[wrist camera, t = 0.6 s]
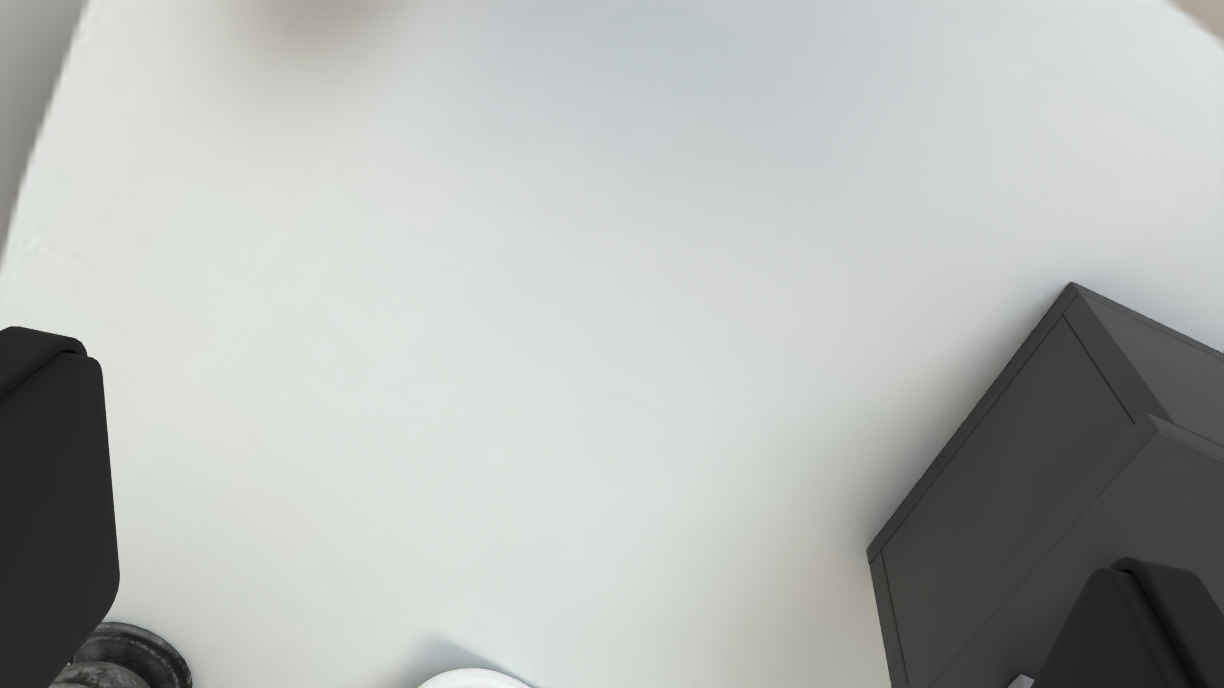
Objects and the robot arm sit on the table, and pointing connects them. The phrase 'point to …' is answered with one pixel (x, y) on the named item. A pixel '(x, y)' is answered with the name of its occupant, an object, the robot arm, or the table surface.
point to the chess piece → (124, 661)
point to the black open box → (1030, 460)
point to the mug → (472, 679)
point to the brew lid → (1094, 553)
